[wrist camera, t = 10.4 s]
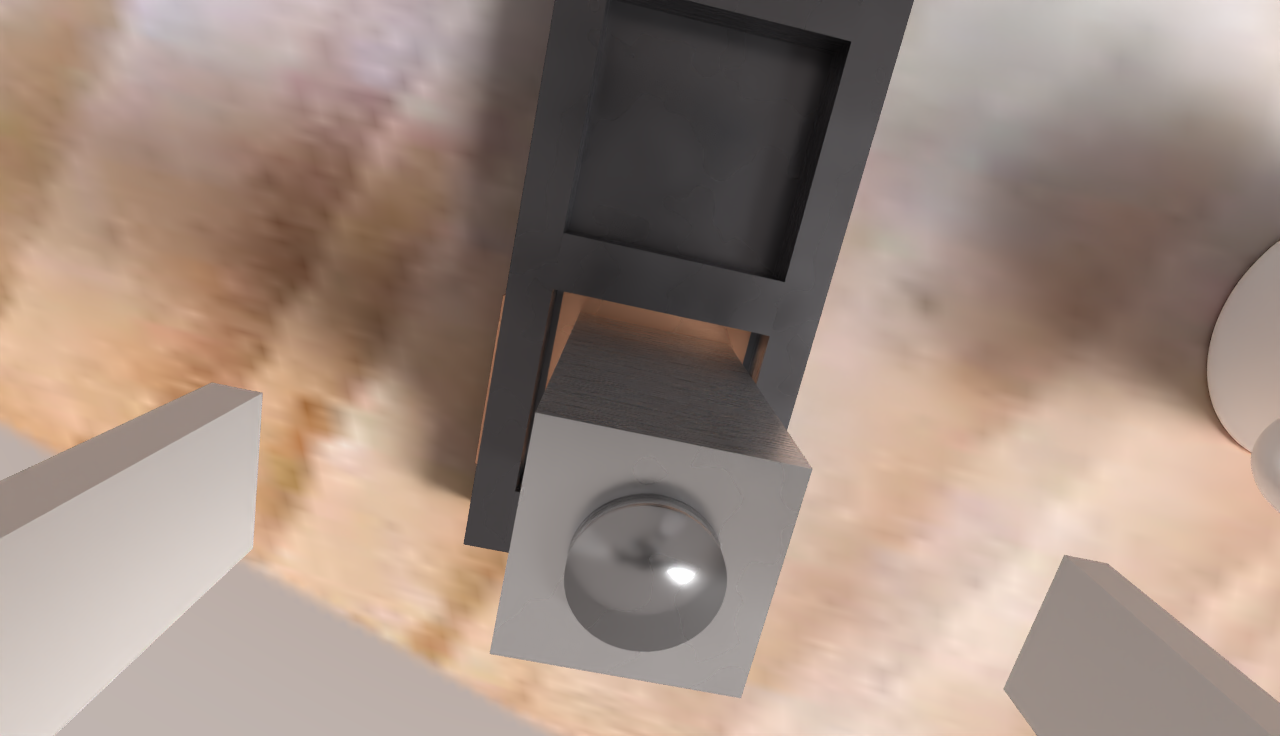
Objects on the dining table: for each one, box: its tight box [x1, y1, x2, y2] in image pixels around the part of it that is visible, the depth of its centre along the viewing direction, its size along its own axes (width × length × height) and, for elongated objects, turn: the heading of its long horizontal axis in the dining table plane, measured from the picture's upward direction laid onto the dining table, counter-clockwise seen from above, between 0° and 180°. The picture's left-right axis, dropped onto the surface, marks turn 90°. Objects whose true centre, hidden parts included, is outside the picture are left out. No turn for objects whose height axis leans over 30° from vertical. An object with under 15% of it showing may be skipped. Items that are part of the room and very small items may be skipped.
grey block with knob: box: [490, 313, 812, 698], centre depth 15 cm, size 4×4×10 cm
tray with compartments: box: [464, 0, 914, 553], centre depth 17 cm, size 25×9×2 cm, turn 168°
